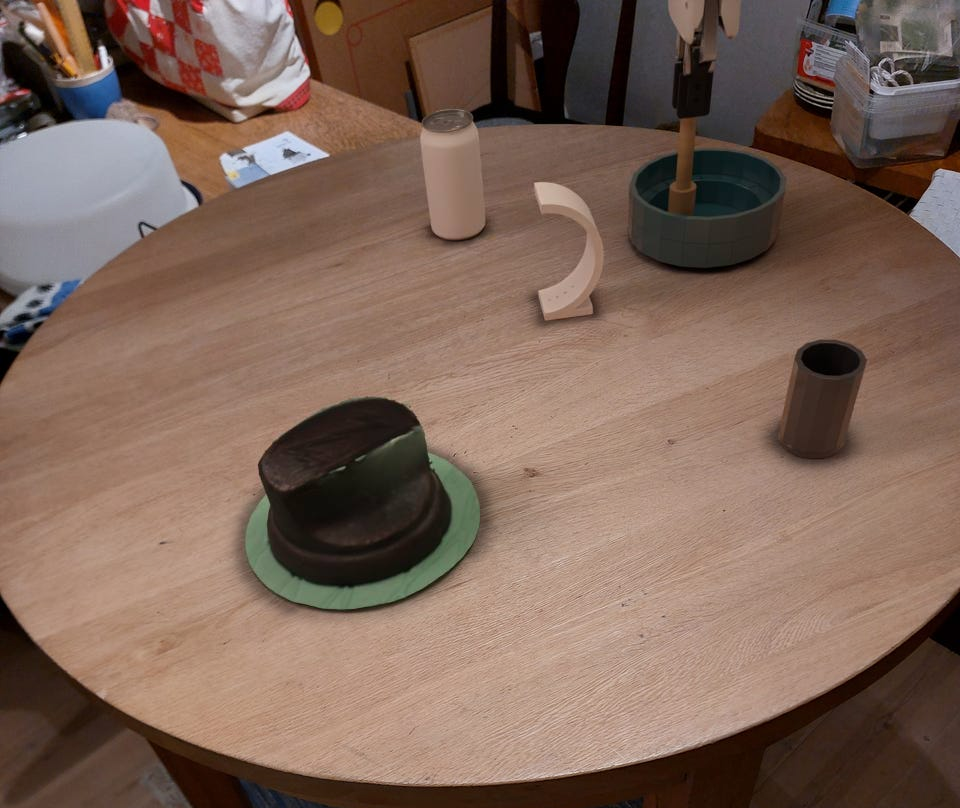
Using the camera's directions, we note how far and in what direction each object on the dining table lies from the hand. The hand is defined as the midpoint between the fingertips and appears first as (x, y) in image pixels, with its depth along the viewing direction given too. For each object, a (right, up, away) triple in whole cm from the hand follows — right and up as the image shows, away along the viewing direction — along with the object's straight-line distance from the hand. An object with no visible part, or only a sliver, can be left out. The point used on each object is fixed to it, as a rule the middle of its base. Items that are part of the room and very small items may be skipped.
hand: (690, 110), depth 90 cm
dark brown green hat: (-31, -43, -14) cm, 55 cm away
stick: (+1, -7, +9) cm, 12 cm away
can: (-24, -5, +16) cm, 29 cm away
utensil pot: (+8, -36, -12) cm, 39 cm away
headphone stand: (-12, -18, +4) cm, 22 cm away
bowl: (+4, -8, +10) cm, 14 cm away
